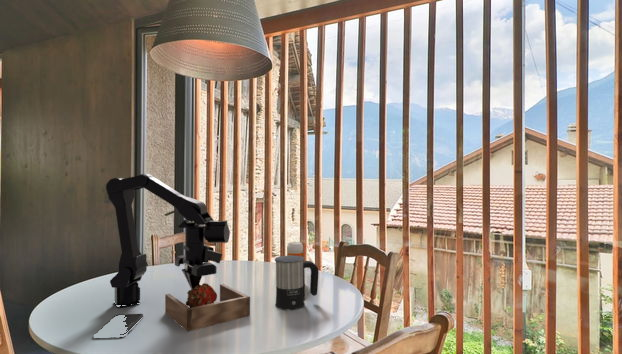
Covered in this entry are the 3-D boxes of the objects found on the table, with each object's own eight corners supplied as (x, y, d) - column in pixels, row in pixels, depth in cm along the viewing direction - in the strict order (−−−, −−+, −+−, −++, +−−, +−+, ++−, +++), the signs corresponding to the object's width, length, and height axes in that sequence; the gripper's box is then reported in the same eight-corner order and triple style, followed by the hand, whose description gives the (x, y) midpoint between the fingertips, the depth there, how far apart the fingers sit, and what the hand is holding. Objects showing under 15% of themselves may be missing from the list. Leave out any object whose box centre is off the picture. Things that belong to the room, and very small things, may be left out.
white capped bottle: (302, 285, 144) (302, 244, 144) (286, 285, 144) (286, 244, 144) (303, 280, 150) (303, 241, 150) (287, 280, 150) (287, 241, 150)
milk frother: (284, 312, 114) (284, 262, 114) (259, 299, 127) (259, 253, 127) (322, 303, 123) (323, 256, 123) (295, 291, 135) (295, 249, 135)
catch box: (187, 331, 100) (187, 310, 100) (165, 313, 114) (165, 294, 114) (249, 315, 112) (250, 296, 112) (223, 300, 125) (223, 283, 125)
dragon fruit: (193, 323, 110) (203, 315, 122) (219, 304, 111) (225, 298, 123) (176, 298, 110) (187, 292, 122) (202, 280, 112) (210, 275, 123)
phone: (91, 336, 95) (116, 314, 110) (91, 340, 95) (116, 318, 110) (124, 334, 96) (144, 313, 111) (124, 339, 96) (144, 317, 111)
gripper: (232, 243, 118) (232, 295, 118) (206, 235, 132) (206, 281, 133) (197, 247, 111) (197, 302, 111) (174, 239, 125) (174, 287, 125)
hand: (194, 292), depth 120 cm, fingers closed
